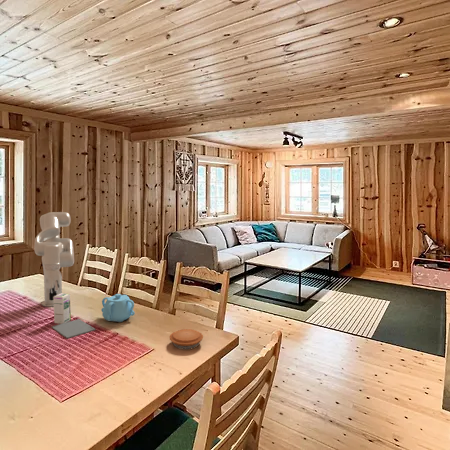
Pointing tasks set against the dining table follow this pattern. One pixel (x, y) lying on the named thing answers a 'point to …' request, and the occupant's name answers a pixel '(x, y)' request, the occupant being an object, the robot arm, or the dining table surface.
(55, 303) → the syrup box
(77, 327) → the mat
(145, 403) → the dining table surface
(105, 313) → the decorative pot
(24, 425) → the dining table surface
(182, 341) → the pie
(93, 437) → the dining table surface
